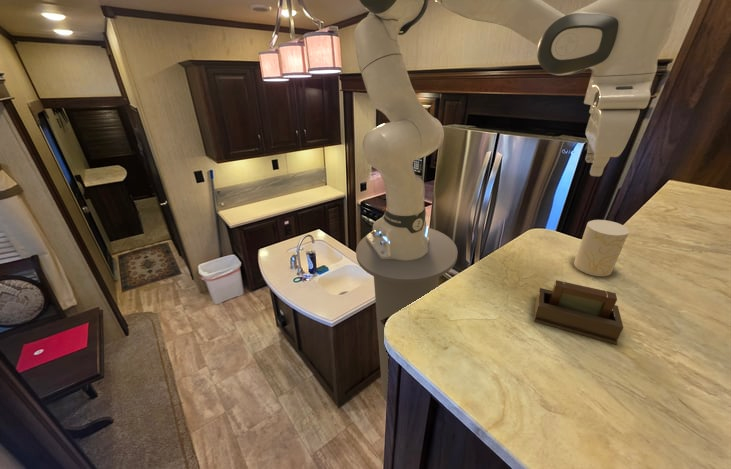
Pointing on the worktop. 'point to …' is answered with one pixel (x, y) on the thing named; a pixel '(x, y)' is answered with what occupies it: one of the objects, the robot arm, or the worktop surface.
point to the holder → (577, 319)
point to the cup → (600, 247)
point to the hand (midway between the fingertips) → (592, 168)
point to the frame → (583, 299)
